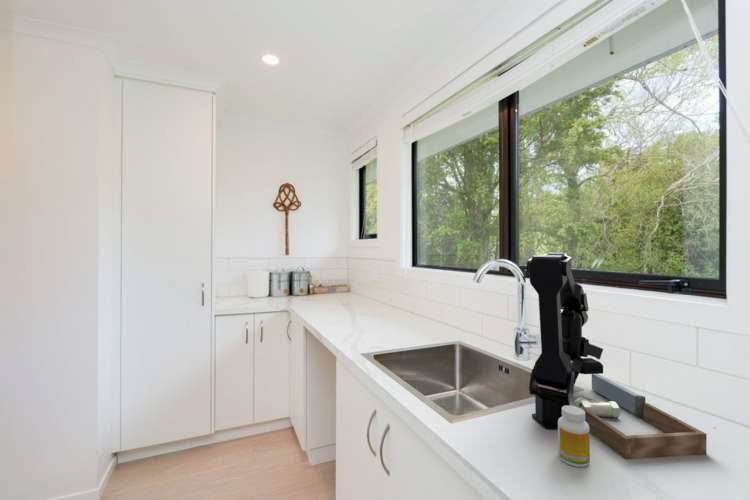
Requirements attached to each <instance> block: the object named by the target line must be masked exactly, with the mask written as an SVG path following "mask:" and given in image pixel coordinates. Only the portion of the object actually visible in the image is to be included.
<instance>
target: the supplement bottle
mask: <svg viewBox="0 0 750 500" xmlns="http://www.w3.org/2000/svg"><path fill="white" fill-rule="evenodd" d="M590 433H591V432H590V430H589V425H588V423H587V422H586V421H585V411H584V410H583V409H581V408H579V407H578V406H577V405H576V406H575V405H570V406H569V405H567V406H563V407H562V417H560V418H559V420H558V429H557V455H558V458H559V459H560V460H561V461H562V462H564V463H565V464H567V465H569V466H572V467H577V468H583V467H587V466H589V464H590V459H591V457H590V456H591V455H590V454H591V451H590V450H591V449H590V448H591V446H590V445H591V444H590V443H591V442H590Z"/></svg>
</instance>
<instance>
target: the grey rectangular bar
mask: <svg viewBox="0 0 750 500" xmlns="http://www.w3.org/2000/svg"><path fill="white" fill-rule="evenodd" d="M591 390H592V391H594V392H596V393H597V394H599V395H601V396H602V397H605V398H606V399H608V400H609V401H615V402H616V403H617V405H618V406H619V407H621V408H623V409H625V410H626V411H629V413H632V414H633V415H637V396H638V395H639V394H638V393H636V392H634V391H632V390H630V389H628V388H626V387H624V386H623V385H620V384H618V383H617V382H614V381H613V380H610V379H609V378H606V377H604V376H602V375H601V374H591Z"/></svg>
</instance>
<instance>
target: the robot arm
mask: <svg viewBox="0 0 750 500" xmlns="http://www.w3.org/2000/svg"><path fill="white" fill-rule="evenodd" d="M572 268H573V267H572V257H571V256H570V255H569V253H566V252H548V253H545V254H541V255H539V254H536V255H535V254H534V255H532V257H531V258H529V259H528V260H527V261H526V273H527V275H529V276H528V277H529V283H530V285H531V286H532V288H533V289H534V291H536V293H537V294H538V295H537V296H538V309H539V313H538V314H539V328H540V329H539V331H540V332H539V333H540V345H541V346H540V347H541V353H540V355H539V356H538V358H537V359H536V360H535V363H534V365H533V367H532V369H531V373H530V379H529V384H528V385H529V386H528V391H529V395H534V396H535V397H534V398H535V402H534V404H535V406H534V407H535V408H534V409H535V412H534V413H531V417H532V418H533V419H534V420H536V421H537V423H539V424H540V425H541V426H542V427H543V428H544V429H546V430H553V429H554V430H558V420H559V418H560V417H562V407H563V406H567V405H569V406H571V404H570V403H571V402H572V401H573V398H574V394H575V393H574V388H575V384H576V382H577V378H578V377H579V375H592V374H599V375H601V374H602V375H603V374H604V365H603V364H602V362H600V361H599V360H601V358H602V355H603V351H604V348H601V346H597V345H594V344H592V343H590V340H589V339H588V338H586V337H584V336H583V327H584V326H585V325H586V323H588V321H589V316H588V312H589V303H588V298H587V293H586V292H585V291H584V289H583V286H582V285H580V284H579V283H577V282H576V281H575V279H574V278H575V277H574V276H573V270H572ZM589 356H590V357H589ZM592 357H593V358H592ZM594 358H596V359H594ZM539 385H541V386H539ZM542 386H544V387H542ZM546 387H547V388H546ZM548 387H550V388H553V389H550V388H548ZM555 389H557V390H555ZM560 390H563V391H560ZM564 391H566V392H564Z"/></svg>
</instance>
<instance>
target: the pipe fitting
mask: <svg viewBox="0 0 750 500" xmlns="http://www.w3.org/2000/svg"><path fill="white" fill-rule="evenodd" d="M574 403H575V404H576V407H580V406H584V407H585V408H587V409H588V410H590V411H591V412H592V413H594V414H595V415H597V416H598V417H600V418H601V417H602V418H614V419H615V418H617V419H618V418H620V416H621V409H620V406H619V405H618V404H617V403H616V402H615V401H611V400H609V401H602V400H598V399H594V398H590V397H586V396H582V395H581V396H579V398H576V399H574Z"/></svg>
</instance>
